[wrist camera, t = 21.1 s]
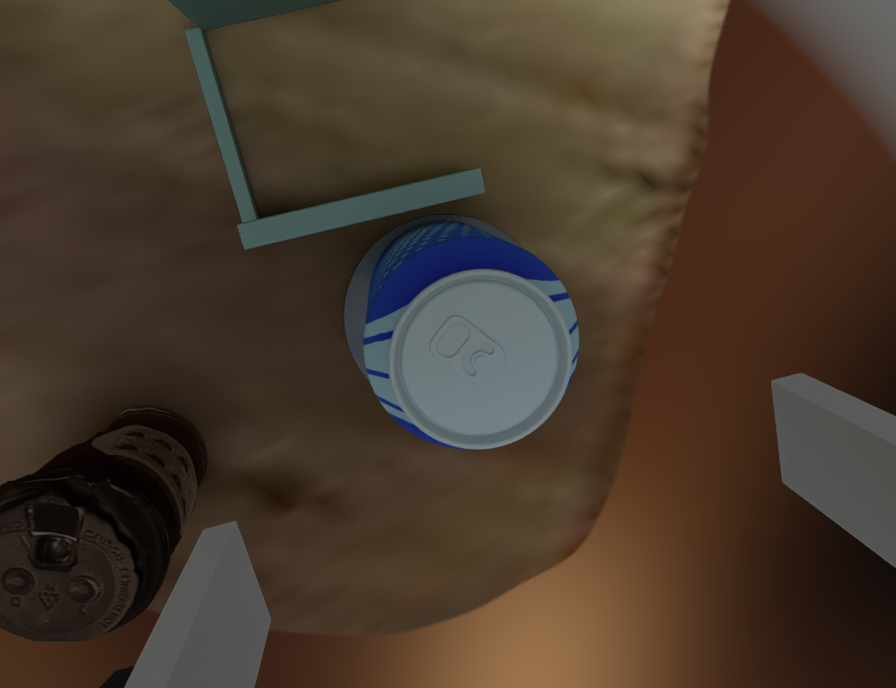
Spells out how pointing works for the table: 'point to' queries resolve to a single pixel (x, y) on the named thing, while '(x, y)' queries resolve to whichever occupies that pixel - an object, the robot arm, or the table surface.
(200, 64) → the rack
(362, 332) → the flat grey disc
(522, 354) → the beer can
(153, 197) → the table surface
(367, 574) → the table surface
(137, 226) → the table surface
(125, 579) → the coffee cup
